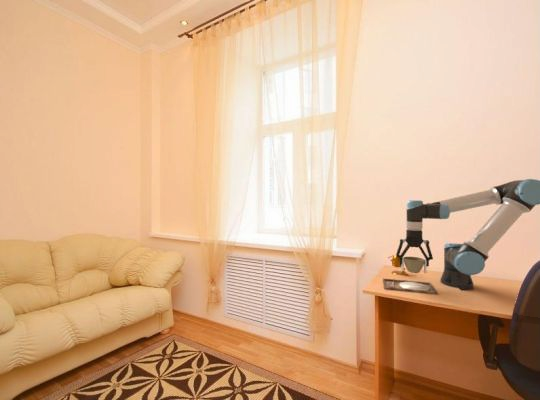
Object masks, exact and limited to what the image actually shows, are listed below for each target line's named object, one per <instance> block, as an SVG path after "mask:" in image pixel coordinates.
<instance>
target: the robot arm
mask: <svg viewBox="0 0 540 400" xmlns="http://www.w3.org/2000/svg"><path fill="white" fill-rule="evenodd" d="M493 204H495V205H496V206H497V205H498V206H499V205H500V206H499V207H498V209H496V211H495V212H494V213H493V214H492V216H490V218H489V219H487V221H486V223H484V225H483V226H482V227H480V229H479V231H478V232H476V234H475V235H474V236H473V237H472V238H471V239H470V240H469V241H464V242H463V243H451V242H450V243H449V242H447V243H444V247H443V249H444V251H443V252H444V253H443V254H444V255H443V256H444V257H443V258H444V259H443V261H444V262H443V265H444V266H443V267H444V268H443V272H442V274H441V276H440V281H439V282H440V283H441V284H442V285H445V286H447V287H450V288H456V289H459V290H468V291H469V290H473V289H474V286H475V285H474V281H473V279H472V276H475V275H478V274H480V273H482V272H483V271H484V269H485V266H486V261H487V260H488V259H489V258H490V256H489V252H490V251H491V249H492V248H494V246H496V244H497V243H498V242H499V240H500V239H501V238H502V237H503V236H504V235H505V234H506V233H507V232H508V231H509V229H510V228H511V227H512V226H513V225H514V224H515V223H516V221H518V220H519V218H520V217H522V215H523V214H527V213H530V212H531V211H532V210H533V209H534V208H535V206H537V205H540V180H539V179H532V178H528V179H520V180H517V179H516V180H512V181H508V182H506V183H503V184H499V185H496V186H492V187H490V189H487V190H483V191H479V192H475V193H469V194H465V195H461V196H457V197H453V198H447V199H445V200H439V201H434V202H430V203H429V202H427V203H424V202H423V200H415V199H414V200H413V199H409V200H408V201H407V202H406V231H405V232H406V233H405V234H406V236H405V238H399V245H398V248H397V250H396V254H395V255H396V257H399V258H400V264H402V268H401V272H402V271H405V270H404V268H405V263H404V257H405V255H406V253H407V252H408V250H409V249H410V248H419V250H420V252H421V254H422V255H423V257H424V259H425V262H424V265H423V273H424V274H427V268H428V267H430V260H434V258H433V254H432V251H431V248H430V241H429V239H428V240H427V239H423V221H424V220H426V219H427V220H428V219H432V220H447V219H449V218H450V215H451V213H456V212H461V211H465V210H471V209H476V208H480V207H484V206H488V205H489V206H491V205H493ZM423 219H424V220H423ZM404 243H406V246H405V247H404V249H402V247H403V245H404ZM423 243H424V245H425V247H426V251H427V253H426V252H425V250H424V248H423V247H422V244H423ZM401 250H402V251H401ZM427 254H428V255H427Z"/></svg>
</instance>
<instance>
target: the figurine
mask: <svg viewBox="0 0 540 400" xmlns="http://www.w3.org/2000/svg"><path fill="white" fill-rule="evenodd" d="M390 258H392V259H390ZM387 259H390V262H391V266H393V267H394V268H401V269H402V264H400V258H399V257H396V254H391V255H390V256H388V257H387ZM405 270H406V267H404V271H402V270H400V271H399V270H392V271H391V274H392V275H396V276H397V275H399V276H408V273H407V272H406V271H405Z"/></svg>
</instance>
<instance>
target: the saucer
mask: <svg viewBox="0 0 540 400" xmlns="http://www.w3.org/2000/svg"><path fill="white" fill-rule="evenodd" d="M399 286H400V287H401V288H403V289H413V290H423V291H429V287H428V286H426V285H424V284H421V283H416V282H402V283H400V284H399Z"/></svg>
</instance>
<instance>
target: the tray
mask: <svg viewBox="0 0 540 400" xmlns="http://www.w3.org/2000/svg"><path fill="white" fill-rule="evenodd" d="M393 281H394V282H395V283H394V288H393V287H390V285H392V282H393ZM402 282H416V283H421V284H424V285H426V286H428V287H429V291H423V290H413V289H403V288H401V287H400V286H399V284H400V283H402ZM382 284H383V289H384V290H389V291H392V290H393V291H399V292H409V293H410V292H411V293H419V294H420V293H421V294H429V295H438V291H436V289H435V288H434V287H433V285H432V283H431V282H430V281H429V282H428V281H415V280H406V279H405V280H404V279H394V278H393V279H392V278H382Z"/></svg>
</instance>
